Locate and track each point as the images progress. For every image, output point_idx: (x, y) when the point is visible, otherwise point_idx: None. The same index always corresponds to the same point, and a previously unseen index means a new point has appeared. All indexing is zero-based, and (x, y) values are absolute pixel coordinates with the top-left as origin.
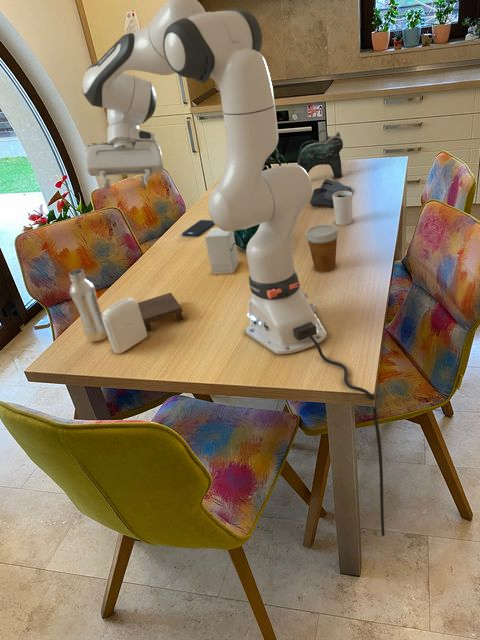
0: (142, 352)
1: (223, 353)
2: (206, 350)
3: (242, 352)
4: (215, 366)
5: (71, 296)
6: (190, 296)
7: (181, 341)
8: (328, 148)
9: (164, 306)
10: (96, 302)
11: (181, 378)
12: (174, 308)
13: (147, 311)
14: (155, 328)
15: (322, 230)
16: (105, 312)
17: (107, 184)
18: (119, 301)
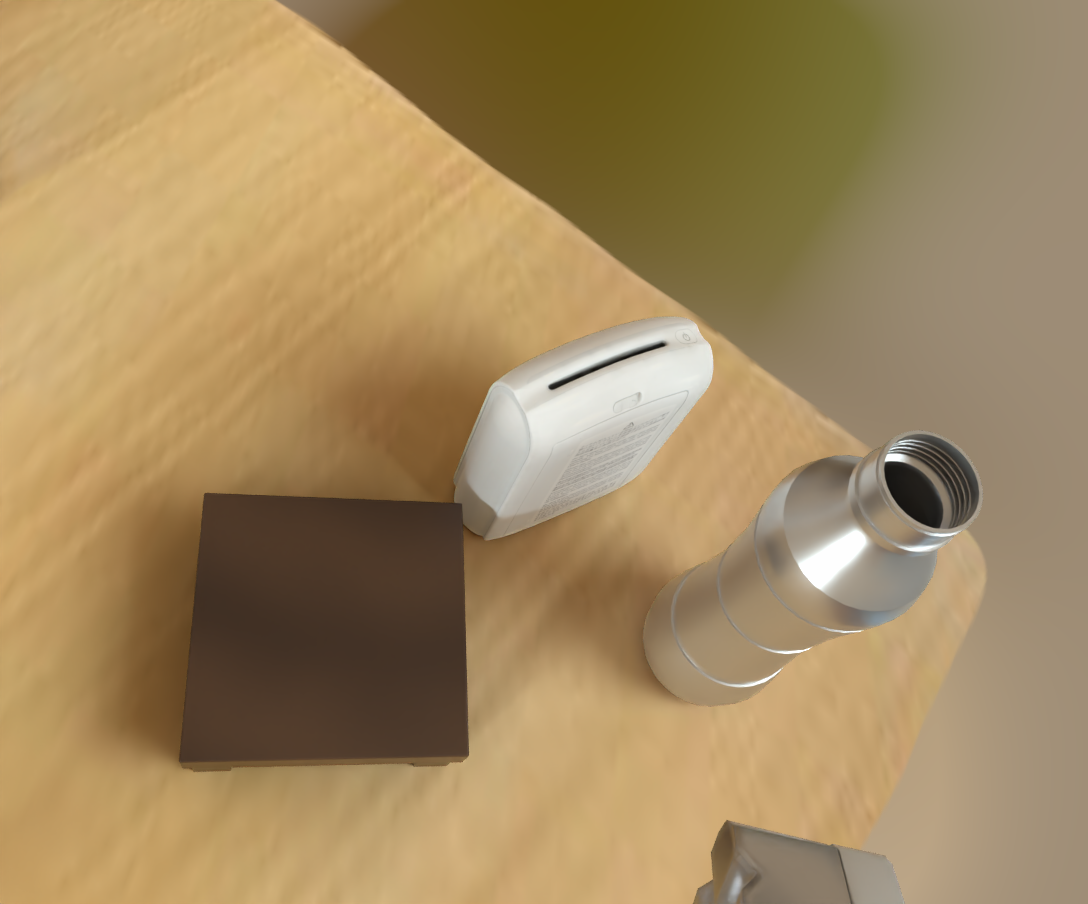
0: None
1: (177, 140)
2: (233, 204)
3: (101, 97)
4: (251, 92)
5: (912, 513)
6: (28, 828)
7: (308, 340)
8: None
9: (294, 577)
10: (739, 538)
11: (402, 113)
12: (247, 509)
13: (410, 586)
14: None
15: None
16: (693, 338)
17: (790, 838)
18: (607, 368)
